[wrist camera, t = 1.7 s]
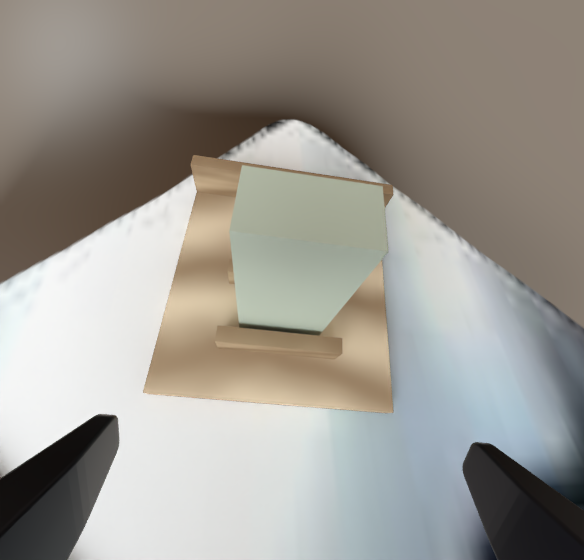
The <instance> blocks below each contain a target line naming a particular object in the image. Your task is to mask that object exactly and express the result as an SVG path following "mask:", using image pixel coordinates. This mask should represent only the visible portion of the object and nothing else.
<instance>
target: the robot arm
mask: <svg viewBox="0 0 584 560" xmlns="http://www.w3.org/2000/svg"><path fill="white" fill-rule="evenodd" d="M118 447H119V427H118V418H117V416H115V415H107V414H98V415H96V416H94V417H92V418H91V419H89V420H88V421H86V422H85V423H83V424H82V425H80V426H79V427H77V428H76V429H74V430H73V431H71V432H70V433H68V434H67V435H65V436H64V437H62V438H61V439H59V440H58V441H56V442H55V443H53V444H52V445H50V446H49V447H47V448H46V449H44V450H43V451H41V452H40V453H38V454H36V455H35V456H33V457H32V458H30V459H29V460H27V461H26V462H24V463H23V464H21V465H20V466H18V467H17V468H15V469H14V470H12V471H11V472H9V473H8V474H6V475H5V476H3V477H2V478H0V560H67V559H68V557H69V556H70V554H71V552H72V550H73V548H74V546H75V544H76V543H77V541H78V539H79V537H80V535H81V533H82V531H83V529H84V527H85V525H86V523H87V520H88V518H89V516H90V514H91V511H92V509H93V507H94V504H95V502H96V500H97V497H98V495H99V493H100V490H101V488H102V486H103V483H104V481H105V479H106V476H107V474H108V472H109V469H110V467H111V465H112V462H113V460H114V458H115V455H116V453H117V450H118ZM463 474H464V477H465V480H466V482H467V485H468V487H469V490H470V493H471V495H472V498H473V500H474V503H475V506H476V508H477V511H478V513H479V516H480V519H481V521H482V524H483V526H484V529H485V532H486V534H487V537H488V539H489V541H490V544H491V546H492V548H493V551H494V553H495V555H496V557H497V559H498V560H584V511H583V510H582V509H580V508H579V507H578V506H576V505H575V504H573V503H572V502H571V501H569V500H568V499H567V498H565V497H564V496H562V495H561V494H560V493H558V492H557V491H556V490H554V489H553V488H551V487H550V486H549V485H547V484H546V483H544V482H543V481H542V480H540V479H539V478H538V477H536V476H535V475H533V474H532V473H531V472H529V471H528V470H527V469H525V468H524V467H522V466H521V465H520V464H518V463H517V462H515V461H514V460H513V459H511V458H510V457H509V456H507V455H506V454H504V453H503V452H502V451H500V450H499V449H498V448H496V447H495V446H493V445H492V444H489V443H481V442H475V443H473V444H472V445H471V447H470V449H469V451H468V453H467V456H466V458H465V460H464V462H463Z"/></svg>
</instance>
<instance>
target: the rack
mask: <svg viewBox="0 0 584 560" xmlns="http://www.w3.org/2000/svg"><path fill="white" fill-rule="evenodd" d="M242 165H245V166H251V167H258V168H265V169H271V170H278V171H285V172H291V173H298V174H304V175H311V176H318V177H324V178H331V179H338V180H344V181H351V182H358V183H364V184H371V185H378V186H383V196H384V207H386V205H387V204H388V202H389V201H390V199H391V198H392V196H393V186H392V185H388V184H382V183H375V182H368V181H362V180H355V179H349V178H342V177H335V176H329V175H322V174H316V173H309V172H302V171H296V170H289V169H282V168H276V167H269V166H263V165H256V164H249V163H243V162H236V161H230V160H223V159H216V158H210V157H203V156H196V155H193V158H192V162H191V168H192V173H193V177H194V182H195V186H196V190H197V193H196V197H195V201H194V204H193V208H192V212H191V215H190V219H189V223H188V227H187V230H186V234H185V238H184V241H183V245H182V249H181V253H180V256H179V260H178V264H177V267H176V271H175V275H174V279H173V282H172V286H171V290H170V293H169V297H168V301H167V305H166V308H165V312H164V316H163V319H162V323H161V327H160V331H159V334H158V338H157V342H156V345H155V349H154V353H153V357H152V360H151V364H150V368H149V371H148V375H147V379H146V383H145V386H144V390H143V393H146V394H154V395H166V396H179V397H191V398H203V399H216V400H228V401H241V402H253V403H266V404H278V405H290V406H303V407H315V408H328V409H340V410H352V411H365V412H377V413H393V402H392V389H391V375H390V362H389V348H388V335H387V321H386V308H385V295H384V281H383V268H382V260H381V261H380V262H379V264H378V265H377V266H376V267H375V269H374V270H373V271H372V272H371V273H370V275H369V276H368V277H367V278H366V279H365V281H364V282H363V283H362V284H361V285H360V287H359V288H358V289H357V290H356V292H355V293H354V294H353V295H352V296H351V298H350V299H349V300H348V301H347V302H346V304H345V305H344V306H343V307H342V309H341V310H340V311H339V312H338V313H337V315H336V316H335V317H334V318H333V319H332V321H331V322H330V323H329V324H328V325H327V327H326V328H325V329H324V330H323V332H322V333H321V334H320V335H319V336H317V335H307V334H297V333H287V332H278V331H268V330H258V329H248V328H239V320H238V310H237V301H236V291H235V281H234V272H233V262H232V255H231V243H230V233H229V230H230V225H231V219H232V214H233V209H234V204H235V199H236V194H237V188H238V183H239V178H240V173H241V168H242Z"/></svg>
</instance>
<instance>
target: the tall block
mask: <svg viewBox="0 0 584 560" xmlns="http://www.w3.org/2000/svg"><path fill="white" fill-rule="evenodd" d="M229 233H230V243H231V252H232V262H233V272H234V281H235V291H236V301H237V310H238V320H239V328H248V329H258V330H268V331H278V332H287V333H297V334H307V335H317V336H319V335H320V334H321V333H322V332H323V330H324V329H325V328H326V327H327V325H328V324H329V323H330V322H331V321H332V319H333V318H334V317H335V316H336V315H337V313H338V312H339V311H340V310H341V309H342V307H343V306H344V305H345V304H346V302H347V301H348V300H349V299H350V298H351V296H352V295H353V294H354V293H355V292H356V290H357V289H358V288H359V287H360V285H361V284H362V283H363V282H364V281H365V279H366V278H367V277H368V276H369V275H370V273H371V272H372V271H373V270H374V269H375V267H376V266H377V265H378V264H379V262H380V261H381V260H382V259H383V258H384V256H385V255H386V254H387V253H388V242H387V230H386V219H385V207H384V196H383V186H378V185H371V184H364V183H358V182H351V181H344V180H338V179H331V178H324V177H318V176H311V175H304V174H298V173H291V172H285V171H278V170H271V169H265V168H258V167H251V166H245V165H242V168H241V173H240V178H239V183H238V188H237V194H236V199H235V204H234V209H233V214H232V219H231V225H230V230H229Z"/></svg>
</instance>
